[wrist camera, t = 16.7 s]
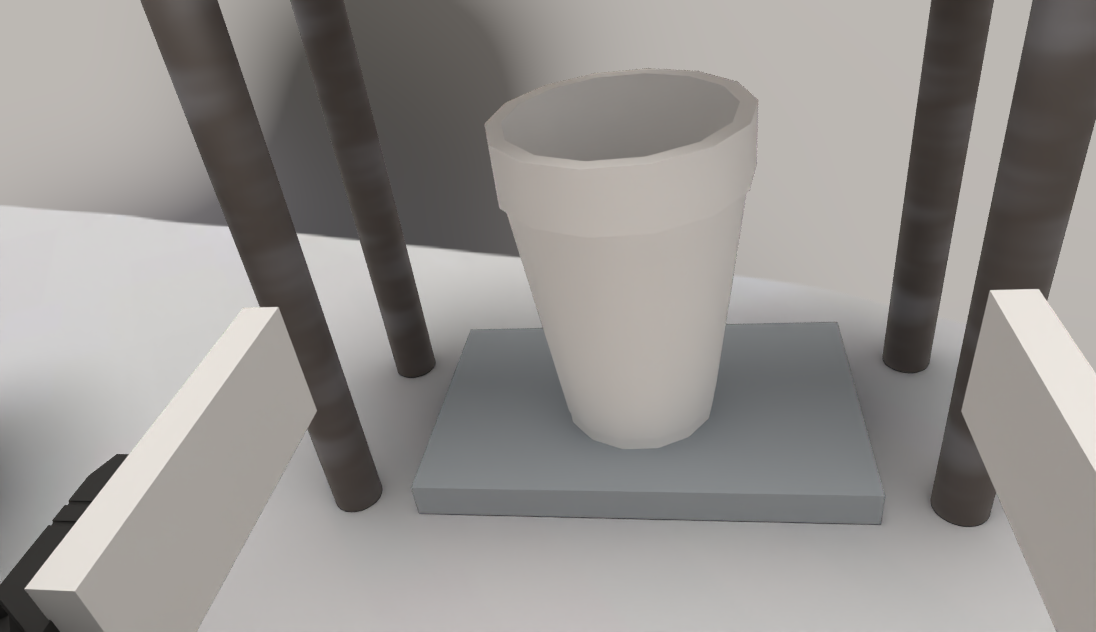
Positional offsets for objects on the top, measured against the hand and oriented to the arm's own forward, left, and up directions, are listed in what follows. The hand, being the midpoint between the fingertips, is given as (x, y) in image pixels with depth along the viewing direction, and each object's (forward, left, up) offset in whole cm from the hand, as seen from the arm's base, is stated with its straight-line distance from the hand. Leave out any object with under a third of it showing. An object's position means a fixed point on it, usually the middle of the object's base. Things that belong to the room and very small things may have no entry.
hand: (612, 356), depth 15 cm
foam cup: (-1, +15, -14) cm, 20 cm away
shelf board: (-1, +15, -15) cm, 21 cm away
